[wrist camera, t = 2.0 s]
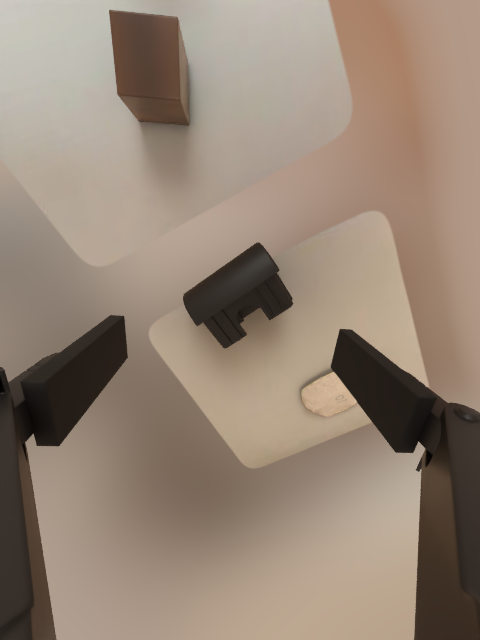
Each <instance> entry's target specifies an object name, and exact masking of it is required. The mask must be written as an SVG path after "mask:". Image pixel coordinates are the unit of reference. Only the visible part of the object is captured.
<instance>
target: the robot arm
mask: <svg viewBox="0 0 480 640" xmlns="http://www.w3.org/2000/svg"><path fill="white" fill-rule="evenodd" d="M127 358H128V356H127V344H126V333H125V320H124V316H114V315H111V316H109V317H108V318H106V319H105V320H104V321H102V322H101V323H99V324H98V325H97V326H95V327H94V328H93V329H91V330H90V331H89V332H87V333H86V334H84V335H83V336H82V337H80V338H79V339H78V340H76V341H75V342H73V343H72V344H71V345H69V346H68V347H67V348H65V349H64V350H63V351H62V352H60V353H55V354H52V355H50V356H47V357H45V358H43V359H42V360H40V361H39V362H37V363H36V364H35V365H34V366H32V367H30V368H29V369H27V371H24V372H23V373H21V374H20V375H19V376H17V377H16V378H14V379H13V380H12V381H10V382H9V383H8V381H7V377H6V374H5V370H4V369H3V368H2V367H0V640H56V635H55V628H54V622H53V615H52V608H51V602H50V596H49V590H48V583H47V576H46V570H45V564H44V557H43V550H42V544H41V537H40V531H39V524H38V518H37V511H36V505H35V498H34V492H33V485H32V479H31V472H30V466H29V460H28V453H27V448H26V444H25V442H26V441H27V440H28V439H29V437H30V436H31V435H32V434H33V433H34V436H35V440H36V444H37V446H60V444H61V443H62V442H63V440H64V439H65V438H66V437H67V435H68V434H69V433H70V431H71V430H72V429H73V427H74V426H75V425H76V424H77V422H78V421H79V420H80V418H81V417H82V416H83V415H84V413H85V412H86V411H87V409H88V408H89V407H90V406H91V404H92V403H93V402H94V400H95V399H96V398H97V397H98V395H99V394H100V393H101V391H102V390H103V389H104V388H105V386H106V385H107V383H108V382H109V381H110V380H111V378H112V377H113V376H114V375H115V373H116V372H117V371H118V369H119V368H120V367H121V366H122V364H123V363H124V362H125V360H126V359H127ZM331 368H332V370H333V371H334V372H335V374H336V375H337V376H338V378H339V379H340V380H341V381H342V383H343V384H344V385H345V387H346V388H347V389H348V391H349V392H350V393H351V395H352V396H353V397H354V398H355V400H356V401H357V402H358V404H359V405H360V406H361V408H362V409H363V410H364V412H365V413H366V414H367V416H368V417H369V418H370V419H371V421H372V422H373V423H374V425H375V426H376V427H377V428H378V430H379V431H380V432H381V434H382V435H383V436H384V438H385V439H386V440H387V442H388V443H389V444H390V446H391V447H392V448H393V449H394V451H395V452H396V453H397V452H398V453H413V452H414V450H415V447H416V445H417V443H418V441H419V442H420V443H421V444H422V445H423V446H424V447H425V451H424V453H423V456H422V458H421V460H420V462H419V464H418V467H417V469H416V470H417V471H420V469H422V473H421V496H420V519H419V520H420V521H419V542H418V567H417V590H416V591H417V592H416V613H415V636H414V640H480V413H479V412H477V411H476V410H474V409H472V408H469V407H467V406H464V405H461V404H457V403H447V402H446V401H444V400H443V399H442V398H441V397H439V396H438V395H437V394H435V393H434V392H433V391H431V390H430V389H429V388H428V387H425V385H424V384H423V383H421V382H419V380H417V379H416V378H415V377H414V376H412V375H411V374H409V373H407V372H406V371H404V370H402V369H401V368H399V367H398V366H397V365H396V364H394V363H393V362H392V361H390V360H389V359H388V358H387V357H385V356H384V355H383V354H382V353H380V352H379V351H378V350H377V349H375V348H374V347H373V346H372V345H370V344H369V343H368V342H366V341H365V340H364V339H363V338H361V337H360V336H359V335H358V334H356V333H355V332H354V331H353V330H348V329H340V331H339V335H338V339H337V343H336V347H335V351H334V355H333V360H332V364H331Z"/></svg>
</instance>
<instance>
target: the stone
mask: <svg viewBox="0 0 480 640" xmlns="http://www.w3.org/2000/svg"><path fill="white" fill-rule="evenodd" d="M301 393H302V400H303V402H304V404H305V406H306V407H307V409H309V410H311V411H312V412H315V413H319V414H321V415H324V416H326V417H329V416H332V415H334V414H336V413H339V412H341V411H345V410H346V409H347V408H348V407H350V406H353V405H355V404H356V403H357V401H356V400H355V398H354V397H353V396H352V395H351V393H350V392H349V391H348V389H347V388H346V387H345V385H344V384H343V383H342V381H341V380H340V379H339V378H338V376H337V375H336V374H335V372H332V373H330V374H328V375H326V376H323V377H321V378H320V379H317V380H316V381H314V382H313V383H311V384H309V385H308V386H306V387H305V388H304V389H303V390H302V392H301Z"/></svg>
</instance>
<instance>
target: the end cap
mask: <svg viewBox="0 0 480 640" xmlns="http://www.w3.org/2000/svg"><path fill="white" fill-rule="evenodd" d="M278 271H279V268H278V267H277V265H276V264H275V262H274V261H273V259H272V258H271V256H270V255H269V253H268V252H267V251H266V249H265V248H264V247H263V246H262V245H261V244H260V243H256V244H254V245H253V246H251V247H250V248H249V249H247V250H246V251H244V252H243V253H241V254H240V255H239V256H237V257H236V258H234V259H233V260H232V261H230V262H229V263H227V264H226V265H225V266H223V267H222V268H220V269H219V270H217V271H216V272H215V273H213V274H212V275H210V276H209V277H207V278H206V279H205V280H203V281H202V282H200V283H199V284H198V285H196V286H195V287H193V288H192V289H190V290H189V291H188V292H186V293H185V294H184V296H183V301H184V305H185V307H186V310H187V312H188V313H189V315H190V317H191V318H192V320H193V321H194V323H195V324H196V325H197V326H198V325H200V324H201V323H204V324H205V326H206V327H207V328H208V329H209V331H210V332H211V333H212V334H213V336H214V337H215V338H216V339H217V341H218V342H219V343H220V344H221V345H222V347H223V348H227V347H229V346H231V345H232V344H234V343H235V342H237V341H238V340H240V339H242V338H243V337H245V336H246V335H247V334H246V332H245V331H244V330H243V328H242V327H241V325H240V323H242V322H243V321H244V319H243V318H244V317H246V316H247V315H249V314H250V313H252V312H253V311H255V310H256V309H258V308H259V307H260V308H261V309H262V310H263V311H264V313H265V314H266V316H267V317H268V319H269V320H271V319H273V318H274V317H276V316H277V315H279V314H281V313H282V312H284V311H285V310H287V309H288V308H290V307H291V306H292V305H293V302H292V297H291V295H290V294H289V292H288V290H287V289H286V287H285V285H284V284H283V282H282V281H281V279H280V277H279V276H278V274H277V272H278Z"/></svg>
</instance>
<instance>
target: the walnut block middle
mask: <svg viewBox="0 0 480 640" xmlns="http://www.w3.org/2000/svg"><path fill="white" fill-rule="evenodd" d="M109 14H110V24H111V34H112V44H113V54H114V64H115V74H116V84H117V94H118V96H119V97H120V98H121V100H122V101H123V102H124V103H125V105H126V106H127V107H128V108H129V110H130V111H131V112H132V113H133V115H134V116H135V117H136V118H137V120H138V121H146V122H159V123H172V124H184V125H189V98H188V60H187V56H186V51H185V47H184V42H183V38H182V34H181V29H180V25H179V20H178V17H172V16H162V15H153V14H144V13H134V12H125V11H116V10H109Z"/></svg>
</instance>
